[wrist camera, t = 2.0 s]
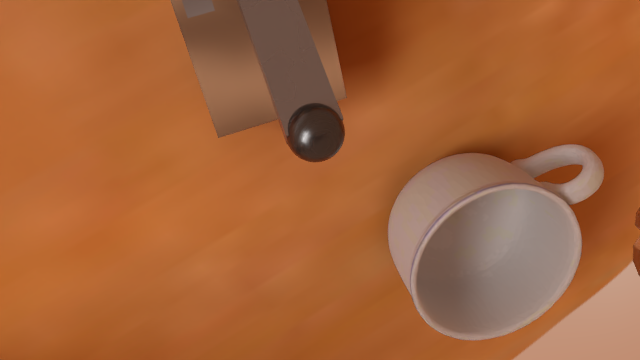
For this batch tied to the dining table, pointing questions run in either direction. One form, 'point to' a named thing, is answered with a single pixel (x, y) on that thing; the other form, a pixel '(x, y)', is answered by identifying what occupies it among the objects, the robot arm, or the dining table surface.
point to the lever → (294, 77)
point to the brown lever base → (243, 60)
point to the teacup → (490, 238)
